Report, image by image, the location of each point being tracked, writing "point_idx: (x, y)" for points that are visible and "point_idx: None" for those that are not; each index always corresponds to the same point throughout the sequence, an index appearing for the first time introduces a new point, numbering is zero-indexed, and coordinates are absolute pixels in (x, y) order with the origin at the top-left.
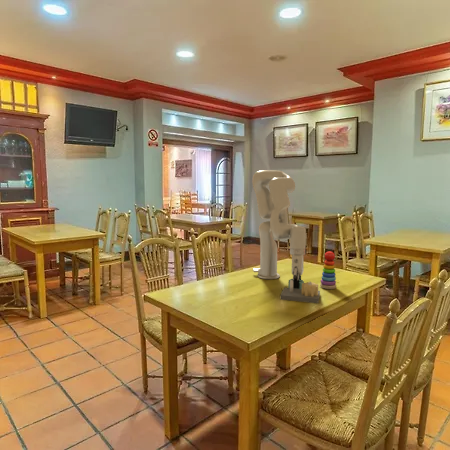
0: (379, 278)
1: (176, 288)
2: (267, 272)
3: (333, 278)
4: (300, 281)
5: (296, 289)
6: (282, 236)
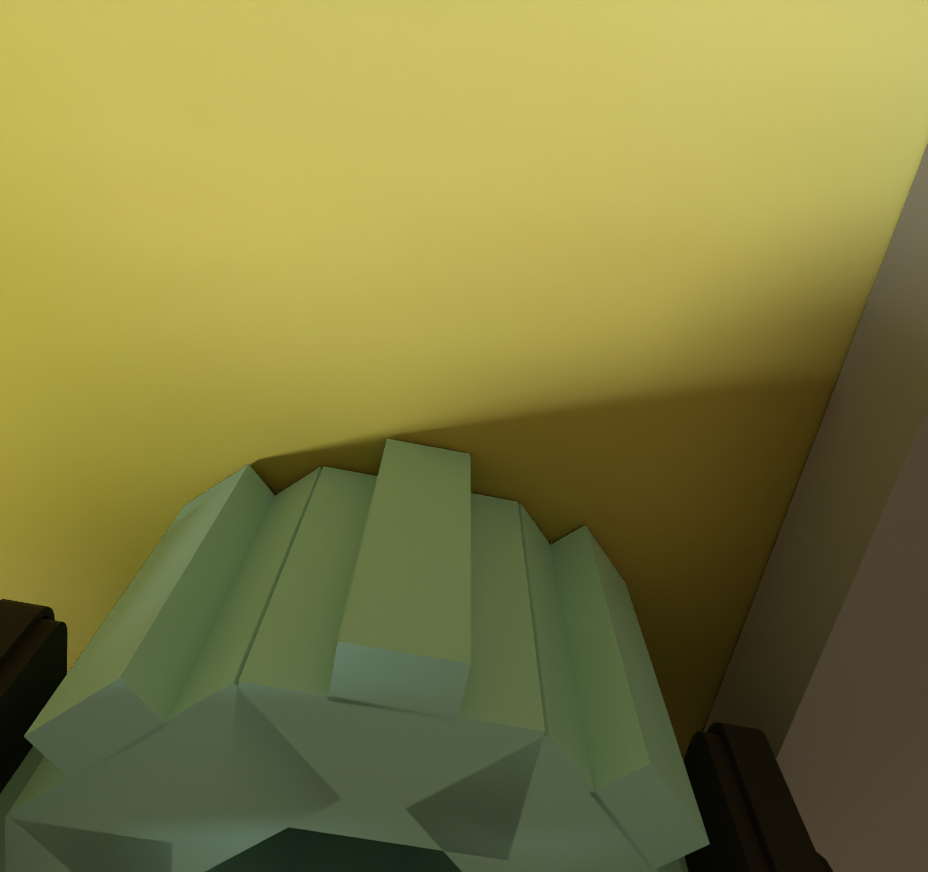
0: None
1: None
2: None
3: None
4: (415, 808)
5: (875, 802)
6: None
